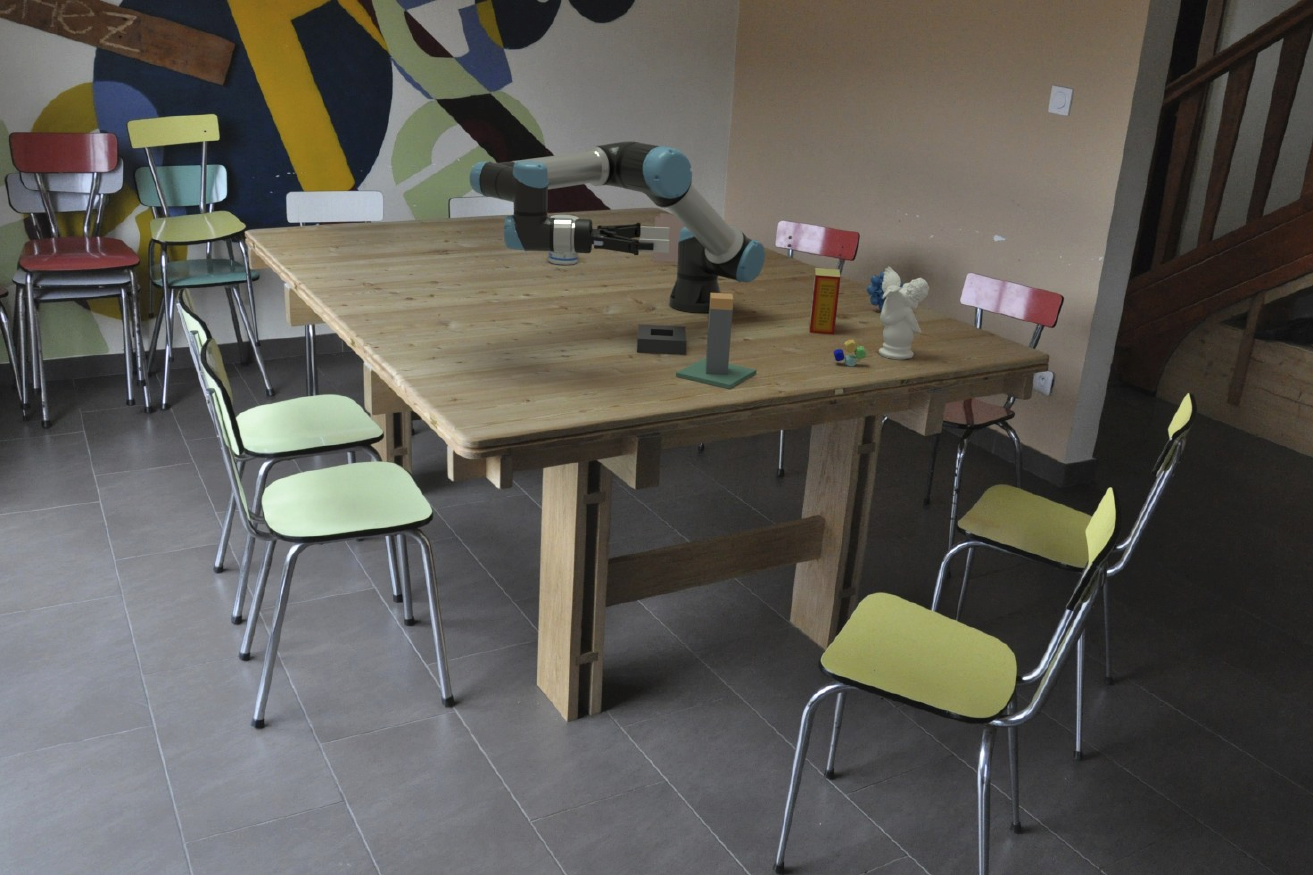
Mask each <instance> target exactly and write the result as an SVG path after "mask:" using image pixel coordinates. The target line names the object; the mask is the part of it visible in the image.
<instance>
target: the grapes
mask: <svg viewBox="0 0 1313 875" xmlns="http://www.w3.org/2000/svg"><path fill="white" fill-rule="evenodd" d="M885 271H886V270H883V271H881V272H880V274H879V275H876V274H875V275H873V276H871V278H870V282H871V284H868V286H867V288H866V292H867V294H869V296H870V298H869V302H870V304H871V305H872V306H875V307H876V306H878V308H879V311H880V312H881V311H882V308H883V305H884V301H885V299H886V298H887V297H885V298H884V299H882V297H883V295H884V292H883V290H882V282H884V281H883V279H884V277H883V276H884V272H885ZM904 284H905V283H902V282H901V283H900V287H902V286H903V285H904Z"/></svg>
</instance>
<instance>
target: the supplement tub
mask: <svg viewBox="0 0 1313 875" xmlns="http://www.w3.org/2000/svg"><path fill="white" fill-rule="evenodd" d="M549 218H572V219H573V221H576V220H577V219H580V218H579V217H578V216H576V215H571V214H555V215H551V216H550V217H549ZM578 258H579V253H576V252H575V250H572V252H563V254H562V255H561V254H559V251H558V252H551V251H548V261H549V262H550V263H551V264H554V265H558V266H559V265H562V266H572V265H575V264H577V263H578V260H579V259H578Z"/></svg>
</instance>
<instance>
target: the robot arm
mask: <svg viewBox="0 0 1313 875" xmlns="http://www.w3.org/2000/svg"><path fill="white" fill-rule="evenodd" d="M691 168H692V164H691V162H690V160H689V158H688V156H687V155H686V154H685V153H684V152H682V151H681V150H679V149H676V148H673V147H672V146H671V147H670V146H667V145H666V146H665V145H661V146H660V145H655V144H650V143H644V142H643V143H642V142H638V141H621V142H613V143H607V144H606V143H605V144H600V145H595V146H594V145H593V146H590V147H588V148H586V150H585V151H581V152H580V151H579V152H573V153H565V154H557V155H549V156H543V157H534V158H526V159H521V160H520V159H519V160H518V159H517V160H512V161H503V162H492V161H479V162H477V163H476V164H474V165H473V167H472V168H471V170H470V172H469V183H470V186H471V188H472V190H473V191H474V192H476V193H477V194H479V195H482V196H484V197H486V198H488V197H490V198H494V199H498V200H502V201H507V202H511V203H513V214H512V215H507V216H506V217H505V219H504V224H503V240H504V245H505V247H506V248H507V249H509V250H516V251H524V252H549V251H551V252H558V251H559V254H561V255H562V254H563V252H572V250H575V252H576V253H578V254H590V253H591V252H592V250H593V249H595V250H608V251H614V252H620V253H627V254H632V255H633V256H639V254H640V252H642V253H654V252H659V253H669V228H668V227H655V226H644V225H643V226H642V225H641V224H642V223H641V222H636V223H633V224H615V225H600V224H599V225H596V226H597V227H596V228H594V227H593V221H592V220H591V219H589V218H588V219H587V218H579V219H577V220H576V221H573V219H572V218H550V217H549V216H548V212H549V211H548V208H549V207H548V205H549V204H548V201H549V199H548V198H549V191H548V190H553V189H560V188H567V187H573V186H580V185H586V184H590V185H592V186H594V187H601V186H611V187H615V188H620V189H625V190H628V191H629V190H630V191H634V192H640V193H642V194H644V195H646V197H647V198H649V200H650V201H651V202H652V203H653V204H654V205H655V206H657V207H659V208H662V209H663V208H664V209H666V208H667V210H669V211H670V213H671V215H674V216H675V217H676V218H677V219H678V220H679V221H680V222H681V223H682V224H683V225H684V226H685V227H683V228H682V229H681V230H680V235H679V241H678V262H677V270H676V271H677V272H676V280H675V282H674V285H673V288H672V290H671V293H670V295H669V302H668V304H669V307H671V308H672V309H675V310H678V311H682V312H686V313H687V312H688V313H696V314H697V313H699V314H700V313H703V314H704V313H705V314H706V313H709V307H710V293H722V292H721V289H720V284H719V277H721V278H724V279H728V280H732V281H737V282H739V283H746V284H747V283H751V282H752V281H754V280H756V279H757V277H759V275H760V273H761V272H762V270H763V267H764V265H765V258H766V250H765V246H764V244H763V243H762V242H761V241H759V240H757V239H751V238H749V237H747V236H746V234H745V233H744V232H743V231H742V230H741V228H739V226H735V225H731V224H728V223H727V222H726V220H724V219H723V217H722V216H721V215H720V214H719V213H718V212H717V211H716V209H715V208H714V207H713V206H712V205H711V204H710V202H708V200H707V199H706V198H705V197H704V196H703V195H702V193H701V192H700V191H698V189H697V188H696V187H695V186H694V184H693V171H692V170H691ZM636 238H638V239H636ZM592 247H593V248H592Z"/></svg>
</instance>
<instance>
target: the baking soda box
mask: <svg viewBox="0 0 1313 875" xmlns="http://www.w3.org/2000/svg"><path fill="white" fill-rule="evenodd" d="M813 274H814V276H813V284H812V285H813V286H812V296H811V304H810V313H809V314H810V315H809V322H808V323H809V325H808V326H809V333H811V334H821V335H822V334H823V335H835V331H836V330H835V328H836V321H837V311H838V302H839V294H840V293H839V292H840V283H841V272H840V268H839V269H838V268H825V267H815V268H814V273H813Z"/></svg>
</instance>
